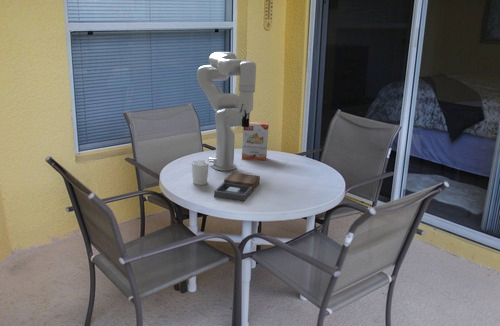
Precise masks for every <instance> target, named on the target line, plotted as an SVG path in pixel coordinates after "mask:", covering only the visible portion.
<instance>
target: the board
mask: <svg viewBox="0 0 500 326" xmlns="http://www.w3.org/2000/svg"><path fill="white" fill-rule="evenodd" d="M260 179H261V176H260V175H256V174H255V175H254V174H247V173H241V172H240V173H239V172H233V171H232V172H231V173H230V174H229V175H228V176H227V177H226V178H224V181H223V182H225V183H232V184H239V185H246V186H252V193H253V192H254V191H255V190H256V189H257V188H258V186H259V185H260V181H261V180H260Z"/></svg>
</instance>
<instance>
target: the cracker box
mask: <svg viewBox="0 0 500 326" xmlns="http://www.w3.org/2000/svg"><path fill="white" fill-rule="evenodd" d="M242 128H243V129H242V144H241V145H242V146H241V160H246V161H247V160H249V161H252V160H253V161H267V156H268V155H267V153H268V141H269V138H268V137H269V128H270V127H269V122H264V121H263V122H261V121H260V122H259V121H258V122H257V121H249V127H242Z"/></svg>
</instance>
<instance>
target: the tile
mask: <svg viewBox="0 0 500 326" xmlns="http://www.w3.org/2000/svg"><path fill="white" fill-rule="evenodd" d="M226 192H229V193H235V194H240V188H235V187H229V188H228V189H227V190H226Z"/></svg>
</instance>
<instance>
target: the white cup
mask: <svg viewBox="0 0 500 326" xmlns="http://www.w3.org/2000/svg"><path fill="white" fill-rule="evenodd" d="M209 163H210V162H209V161H206V160H194V161H192V162H191V172H192V183H193V184H194V185H197V186H203V185H206V184H207V183H208V176H209Z"/></svg>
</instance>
